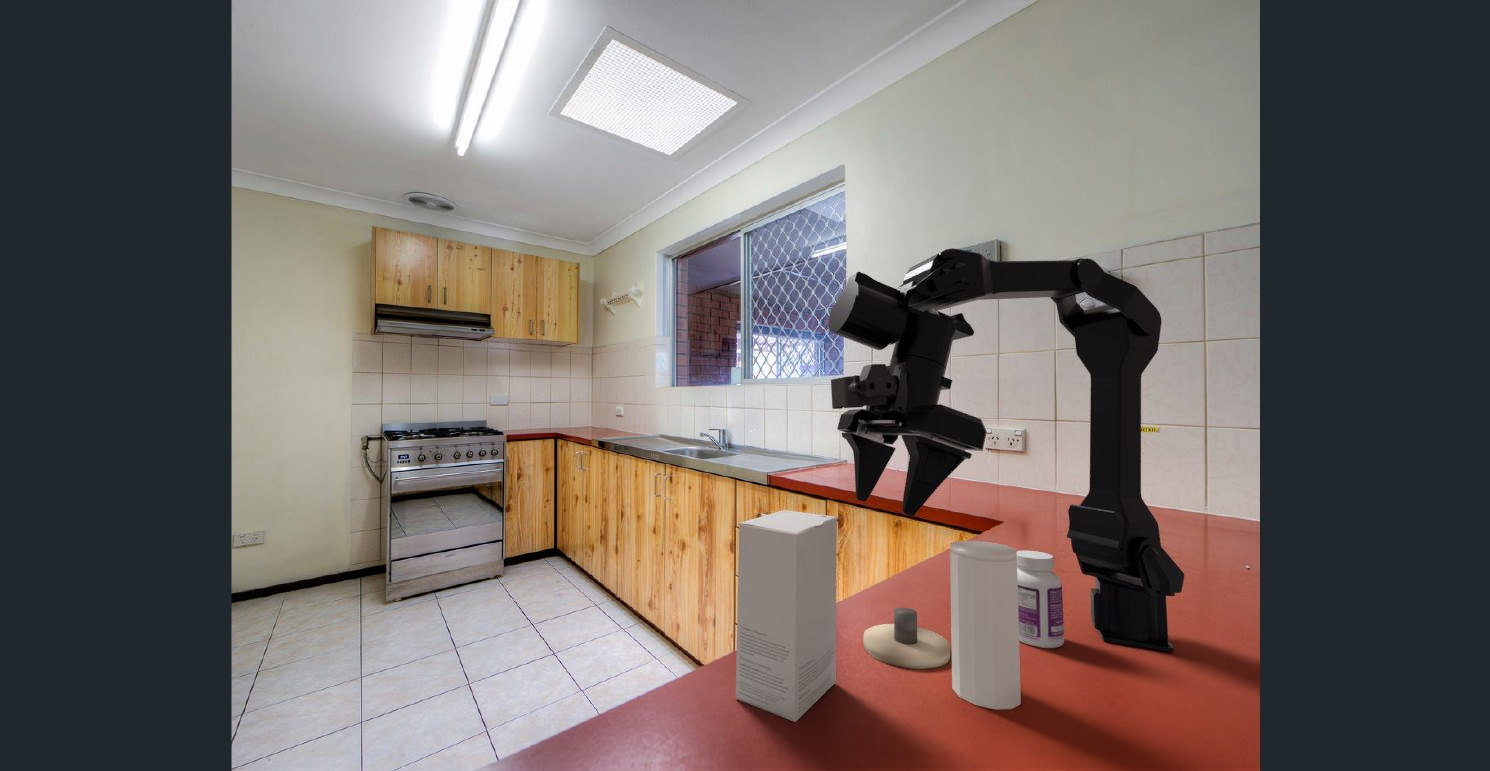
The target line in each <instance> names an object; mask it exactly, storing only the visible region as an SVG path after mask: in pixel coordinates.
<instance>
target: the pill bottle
mask: <svg viewBox="0 0 1490 771" xmlns="http://www.w3.org/2000/svg"><path fill="white" fill-rule="evenodd" d="M1016 551H1017V580H1018V618H1019V643H1020V642H1021V643H1022V644H1025V645H1029V646H1033V647H1038V648H1041V649H1055V648H1059V647H1060V648H1061V646H1063V645H1064V643H1065V629H1064V628H1065V624H1064V603H1063V601H1064V600H1063V598H1064V597H1063V584H1062V580H1061V579H1060V577H1059V576H1058V575H1057V574H1056V573H1055V572H1053V571H1054V568H1055V560H1054V559H1055V558H1054V556H1053V555H1052V554H1049V553H1046V552H1042V551H1036V550H1016Z"/></svg>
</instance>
